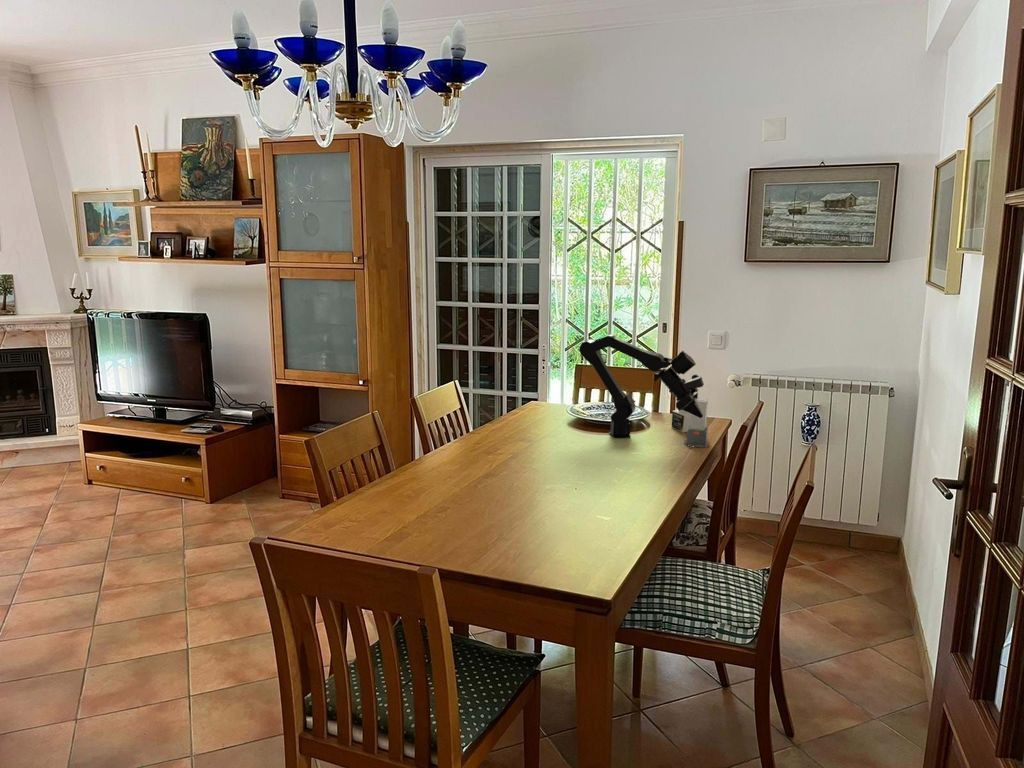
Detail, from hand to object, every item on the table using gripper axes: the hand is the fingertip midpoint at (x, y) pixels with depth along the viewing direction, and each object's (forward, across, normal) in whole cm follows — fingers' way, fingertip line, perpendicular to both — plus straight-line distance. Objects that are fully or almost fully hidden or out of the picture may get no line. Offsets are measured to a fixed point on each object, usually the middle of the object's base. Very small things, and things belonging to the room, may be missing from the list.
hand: (702, 415), depth 265 cm
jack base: (+7, 0, +9) cm, 11 cm away
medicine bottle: (+2, +18, +14) cm, 23 cm away
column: (+4, 0, +6) cm, 7 cm away
